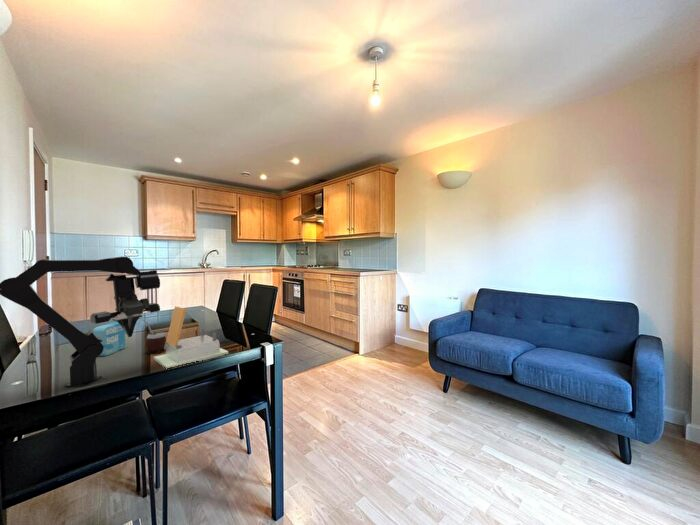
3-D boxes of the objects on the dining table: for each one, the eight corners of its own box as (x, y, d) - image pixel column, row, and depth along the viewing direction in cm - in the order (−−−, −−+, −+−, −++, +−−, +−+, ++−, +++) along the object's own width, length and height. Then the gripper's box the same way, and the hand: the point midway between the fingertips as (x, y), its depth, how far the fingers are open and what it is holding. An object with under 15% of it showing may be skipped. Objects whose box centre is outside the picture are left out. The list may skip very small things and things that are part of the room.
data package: (105, 356, 120) (104, 327, 120) (93, 357, 120) (92, 328, 120) (125, 348, 132) (124, 321, 132) (115, 348, 132) (114, 322, 132)
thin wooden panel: (177, 347, 108) (174, 347, 108) (168, 341, 116) (165, 341, 115) (186, 309, 111) (184, 308, 110) (177, 306, 118) (175, 306, 118)
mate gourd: (169, 351, 126) (168, 316, 125) (148, 356, 119) (147, 319, 119) (161, 348, 130) (159, 314, 130) (140, 353, 123) (139, 317, 123)
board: (166, 369, 103) (166, 366, 103) (153, 359, 115) (153, 356, 115) (228, 353, 119) (228, 351, 119) (211, 346, 131) (211, 343, 131)
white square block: (178, 363, 107) (177, 341, 107) (166, 354, 117) (165, 334, 117) (219, 352, 118) (219, 332, 118) (205, 345, 128) (204, 327, 128)
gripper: (98, 298, 90) (104, 348, 90) (164, 288, 105) (169, 331, 106) (87, 297, 96) (92, 343, 97) (151, 288, 111) (155, 328, 112)
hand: (130, 336), depth 103 cm, fingers closed
